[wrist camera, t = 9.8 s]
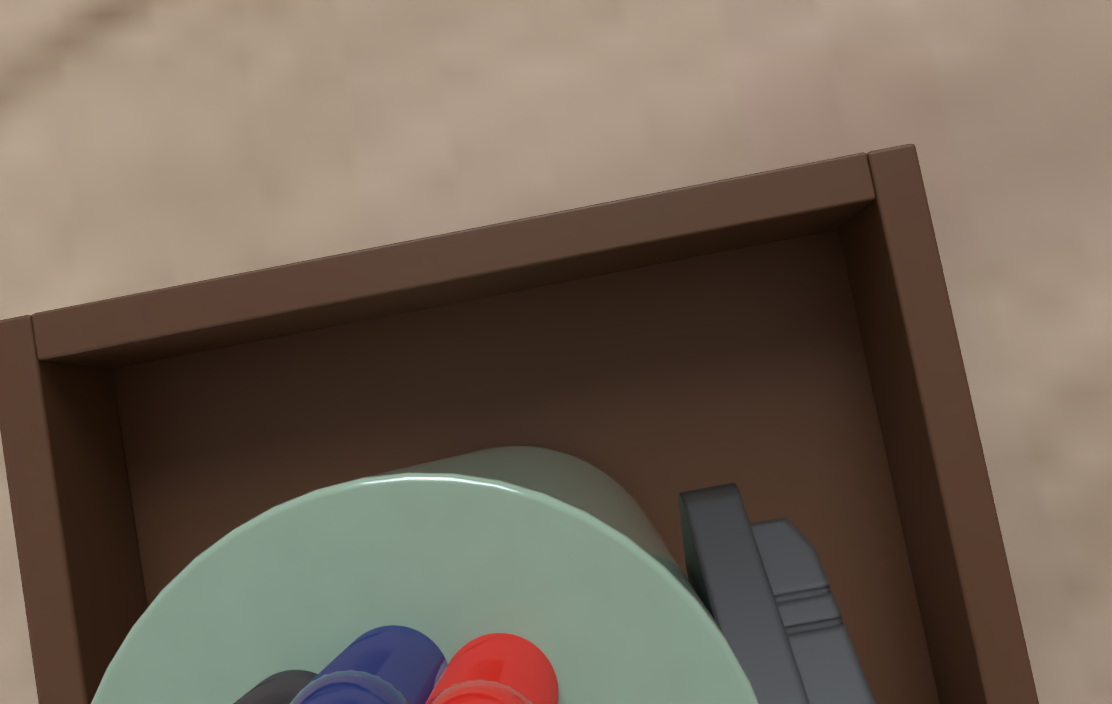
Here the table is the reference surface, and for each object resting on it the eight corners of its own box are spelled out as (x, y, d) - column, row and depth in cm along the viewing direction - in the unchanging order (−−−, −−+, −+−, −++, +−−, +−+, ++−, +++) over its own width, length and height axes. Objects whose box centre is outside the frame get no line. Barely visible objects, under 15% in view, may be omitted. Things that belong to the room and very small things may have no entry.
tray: (173, 1004, 18) (94, 1114, 15) (74, 337, 19) (-17, 322, 16) (1012, 858, 17) (1093, 942, 14) (866, 184, 18) (915, 141, 15)
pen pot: (391, 786, 17) (-51, 1594, 5) (340, 475, 17) (-172, 580, 6) (700, 731, 17) (955, 1430, 5) (641, 420, 17) (751, 409, 6)
